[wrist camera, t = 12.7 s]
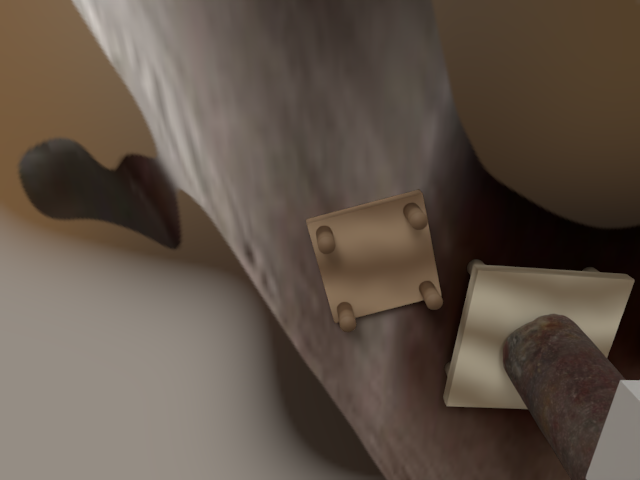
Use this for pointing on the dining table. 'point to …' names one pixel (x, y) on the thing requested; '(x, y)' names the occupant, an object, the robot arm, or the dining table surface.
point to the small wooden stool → (517, 310)
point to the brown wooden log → (562, 386)
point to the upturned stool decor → (376, 257)
